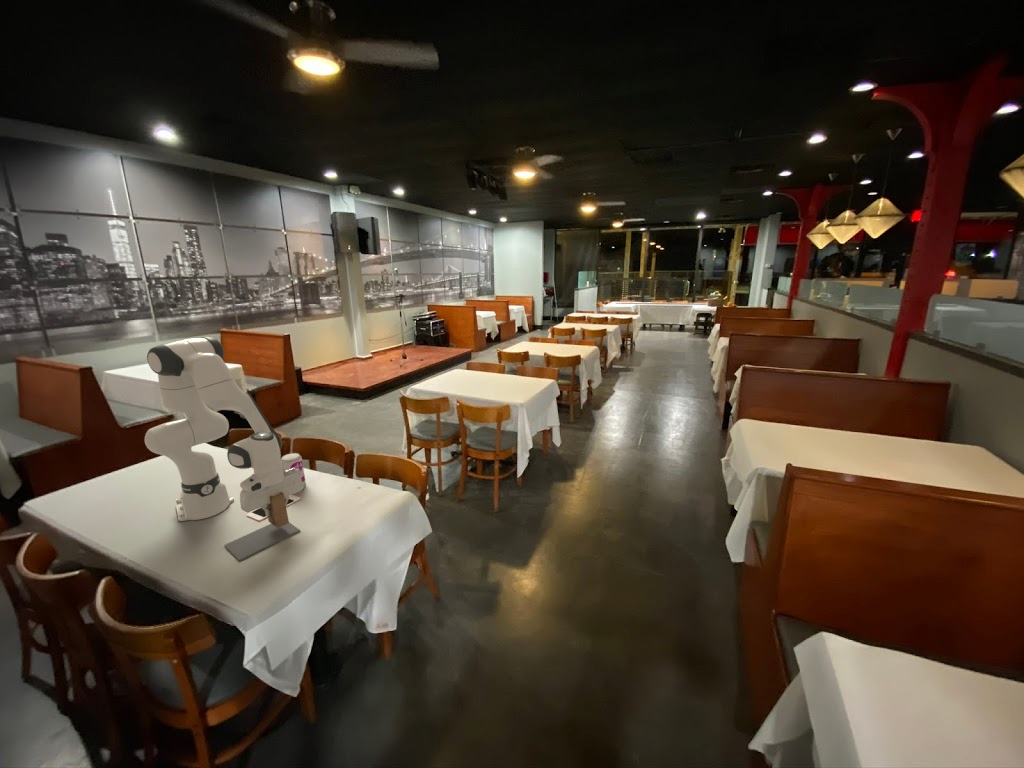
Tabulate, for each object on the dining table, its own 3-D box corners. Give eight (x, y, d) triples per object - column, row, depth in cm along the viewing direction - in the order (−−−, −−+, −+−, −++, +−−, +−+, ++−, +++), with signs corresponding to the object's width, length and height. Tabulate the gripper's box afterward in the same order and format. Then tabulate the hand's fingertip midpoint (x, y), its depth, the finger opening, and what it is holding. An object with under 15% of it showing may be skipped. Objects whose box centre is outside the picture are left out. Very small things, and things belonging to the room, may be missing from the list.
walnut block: (268, 521, 151) (262, 491, 148) (280, 516, 154) (274, 487, 151) (277, 528, 147) (271, 497, 144) (288, 522, 150) (283, 492, 147)
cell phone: (301, 499, 173) (301, 497, 173) (259, 522, 157) (259, 520, 157) (288, 495, 177) (287, 493, 177) (245, 516, 161) (245, 514, 161)
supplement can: (309, 485, 184) (305, 454, 180) (292, 494, 177) (286, 462, 173) (299, 481, 188) (294, 451, 184) (281, 489, 181) (275, 457, 177)
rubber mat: (224, 546, 143) (224, 545, 143) (283, 519, 158) (283, 518, 158) (239, 561, 136) (239, 559, 135) (300, 531, 151) (300, 530, 151)
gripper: (295, 463, 156) (300, 496, 159) (234, 485, 140) (242, 521, 144) (303, 467, 152) (309, 501, 156) (242, 490, 137) (250, 527, 140)
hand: (276, 511), depth 150 cm, fingers closed on walnut block, 4 cm apart
